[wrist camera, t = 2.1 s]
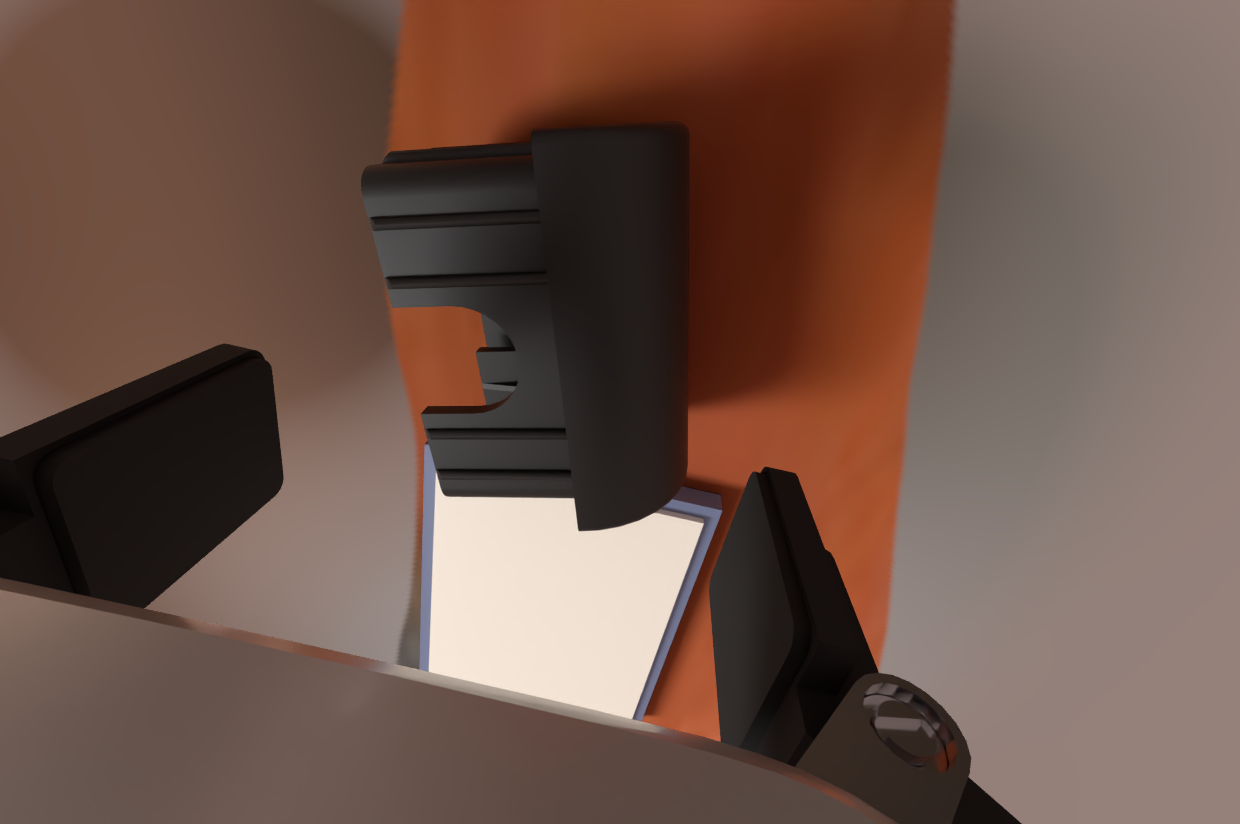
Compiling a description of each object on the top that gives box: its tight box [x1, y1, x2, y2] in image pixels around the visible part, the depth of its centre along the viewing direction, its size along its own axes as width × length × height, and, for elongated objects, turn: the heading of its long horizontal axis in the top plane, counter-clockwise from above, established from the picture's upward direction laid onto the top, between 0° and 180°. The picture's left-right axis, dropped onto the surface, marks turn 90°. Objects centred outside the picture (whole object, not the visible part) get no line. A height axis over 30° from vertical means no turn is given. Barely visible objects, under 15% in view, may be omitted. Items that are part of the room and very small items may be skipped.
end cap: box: [361, 121, 689, 531], centre depth 15 cm, size 10×7×7 cm
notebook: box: [420, 441, 723, 721], centre depth 25 cm, size 16×12×1 cm
